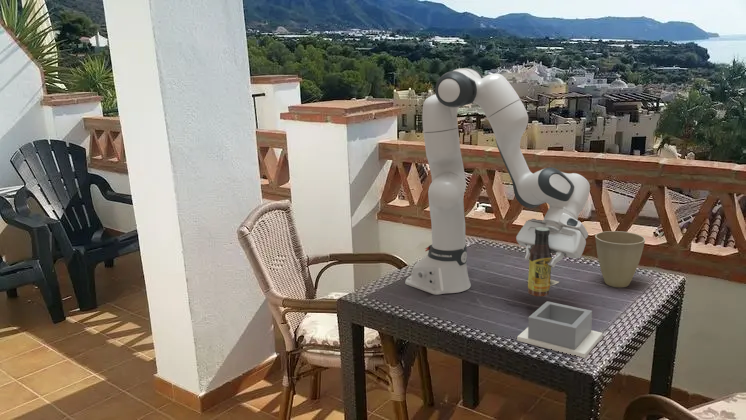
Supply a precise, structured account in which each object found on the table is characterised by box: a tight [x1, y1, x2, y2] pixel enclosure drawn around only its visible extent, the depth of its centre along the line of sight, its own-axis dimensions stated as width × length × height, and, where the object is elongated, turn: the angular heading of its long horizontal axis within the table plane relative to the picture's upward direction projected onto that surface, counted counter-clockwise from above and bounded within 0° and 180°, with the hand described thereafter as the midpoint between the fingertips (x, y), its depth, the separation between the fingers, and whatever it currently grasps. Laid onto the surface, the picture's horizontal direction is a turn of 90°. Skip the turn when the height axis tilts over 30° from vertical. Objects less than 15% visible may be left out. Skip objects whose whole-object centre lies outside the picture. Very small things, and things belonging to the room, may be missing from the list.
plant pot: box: [594, 230, 646, 288], centre depth 191 cm, size 15×15×16 cm
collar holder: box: [516, 301, 604, 359], centre depth 156 cm, size 18×14×7 cm
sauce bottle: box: [527, 227, 553, 298], centre depth 170 cm, size 7×6×20 cm
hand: (538, 263), depth 169 cm, fingers closed on sauce bottle, 6 cm apart
